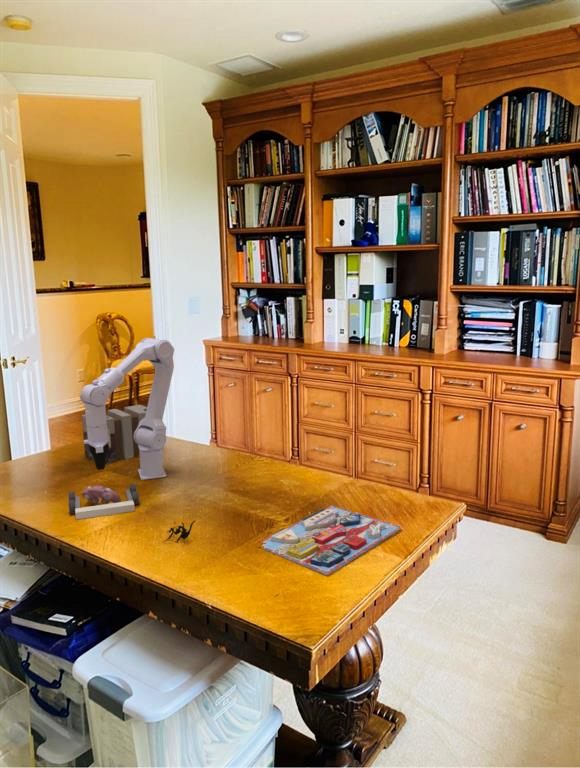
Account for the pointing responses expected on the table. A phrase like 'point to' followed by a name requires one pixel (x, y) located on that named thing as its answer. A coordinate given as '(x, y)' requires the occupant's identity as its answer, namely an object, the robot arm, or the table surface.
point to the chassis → (106, 508)
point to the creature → (183, 532)
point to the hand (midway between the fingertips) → (100, 468)
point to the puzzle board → (329, 539)
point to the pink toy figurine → (100, 495)
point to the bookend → (119, 433)
